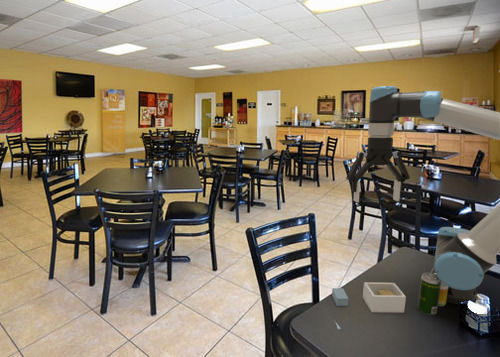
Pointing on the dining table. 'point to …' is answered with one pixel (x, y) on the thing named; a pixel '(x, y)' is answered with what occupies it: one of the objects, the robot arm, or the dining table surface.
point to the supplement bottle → (442, 294)
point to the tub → (384, 298)
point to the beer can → (429, 293)
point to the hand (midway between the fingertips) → (376, 200)
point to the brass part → (385, 292)
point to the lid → (339, 299)
